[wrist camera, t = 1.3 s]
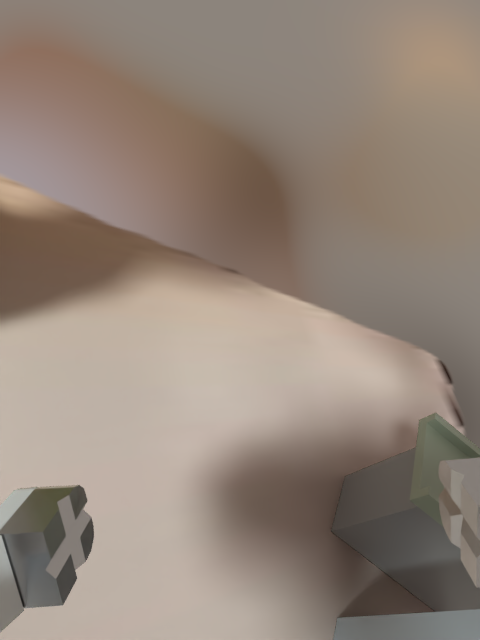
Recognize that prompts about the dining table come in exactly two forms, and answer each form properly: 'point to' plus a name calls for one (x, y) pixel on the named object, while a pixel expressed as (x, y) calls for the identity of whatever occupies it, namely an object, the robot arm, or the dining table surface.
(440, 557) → the box with lid
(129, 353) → the dining table surface
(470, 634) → the plinth
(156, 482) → the dining table surface
